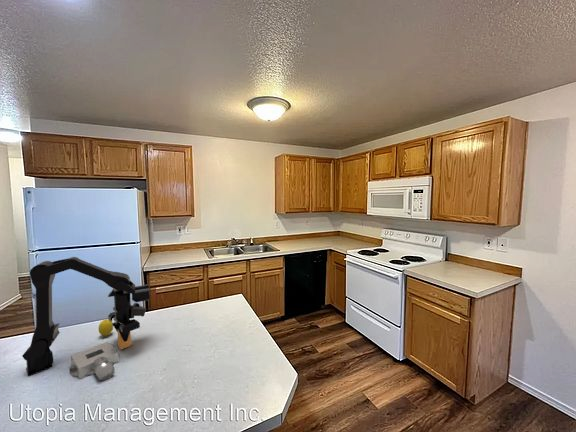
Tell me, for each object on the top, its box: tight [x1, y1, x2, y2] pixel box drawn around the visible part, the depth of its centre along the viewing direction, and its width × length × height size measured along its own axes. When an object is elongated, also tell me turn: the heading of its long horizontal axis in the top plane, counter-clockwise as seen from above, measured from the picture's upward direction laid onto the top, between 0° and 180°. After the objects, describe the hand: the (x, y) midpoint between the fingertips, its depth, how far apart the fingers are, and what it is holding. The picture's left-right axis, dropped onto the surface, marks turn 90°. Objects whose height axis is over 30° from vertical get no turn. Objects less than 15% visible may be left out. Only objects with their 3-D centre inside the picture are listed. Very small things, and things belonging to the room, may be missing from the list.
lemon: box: [98, 318, 114, 337], centre depth 116 cm, size 6×6×8 cm
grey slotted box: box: [69, 341, 120, 381], centre depth 94 cm, size 15×22×5 cm
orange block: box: [117, 331, 132, 350], centre depth 107 cm, size 4×2×8 cm, turn 141°
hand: (124, 340), depth 107 cm, fingers closed on orange block, 2 cm apart
